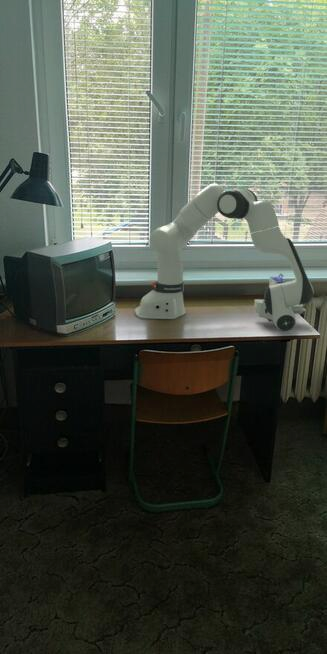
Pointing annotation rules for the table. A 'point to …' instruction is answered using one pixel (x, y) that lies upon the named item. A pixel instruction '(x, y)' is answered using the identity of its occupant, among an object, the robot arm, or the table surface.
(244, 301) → the table surface
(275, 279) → the ink cartridge box
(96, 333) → the table surface
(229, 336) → the table surface
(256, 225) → the robot arm
